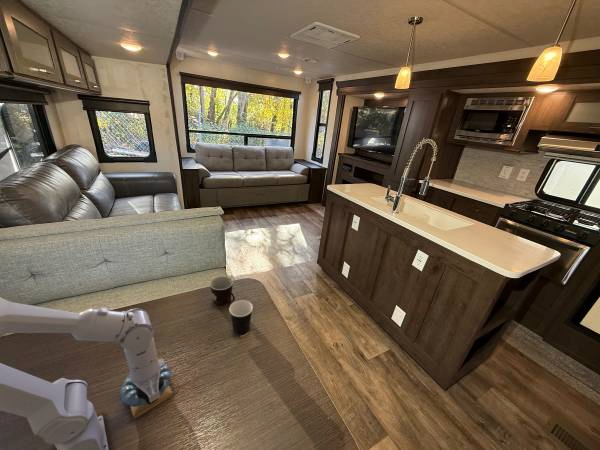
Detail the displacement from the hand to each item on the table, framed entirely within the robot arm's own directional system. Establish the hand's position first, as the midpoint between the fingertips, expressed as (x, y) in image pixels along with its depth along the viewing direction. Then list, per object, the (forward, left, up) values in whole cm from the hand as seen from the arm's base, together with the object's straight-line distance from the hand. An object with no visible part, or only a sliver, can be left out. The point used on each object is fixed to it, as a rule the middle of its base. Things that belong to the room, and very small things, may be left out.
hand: (151, 394), depth 62 cm
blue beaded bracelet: (+4, 0, 0) cm, 4 cm away
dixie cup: (+7, -30, -4) cm, 31 cm away
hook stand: (+4, 0, -4) cm, 6 cm away
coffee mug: (+23, -31, -4) cm, 39 cm away
